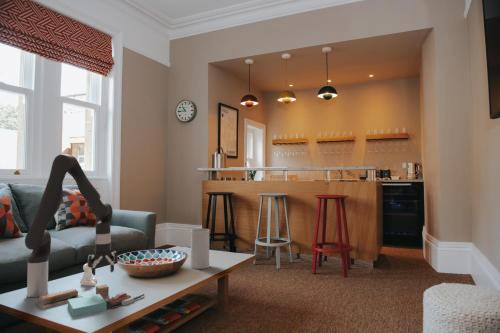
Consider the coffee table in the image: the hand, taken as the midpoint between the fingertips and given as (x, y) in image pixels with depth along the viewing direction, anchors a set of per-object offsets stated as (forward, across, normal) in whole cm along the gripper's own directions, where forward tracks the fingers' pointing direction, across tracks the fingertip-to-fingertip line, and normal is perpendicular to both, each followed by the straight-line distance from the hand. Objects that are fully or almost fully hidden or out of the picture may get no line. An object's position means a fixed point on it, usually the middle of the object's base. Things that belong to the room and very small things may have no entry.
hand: (102, 273), depth 181 cm
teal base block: (+12, +10, +14) cm, 21 cm away
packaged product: (+12, +19, -4) cm, 23 cm away
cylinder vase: (+12, -68, -22) cm, 72 cm away
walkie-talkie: (+12, -7, +15) cm, 20 cm away
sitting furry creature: (+12, +2, -24) cm, 27 cm away
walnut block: (+12, 0, 0) cm, 12 cm away
